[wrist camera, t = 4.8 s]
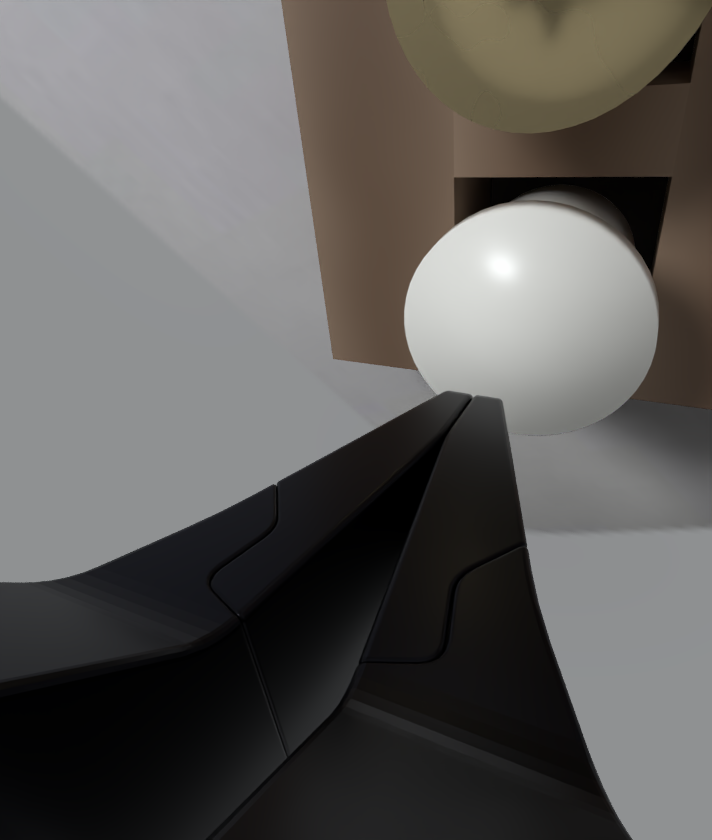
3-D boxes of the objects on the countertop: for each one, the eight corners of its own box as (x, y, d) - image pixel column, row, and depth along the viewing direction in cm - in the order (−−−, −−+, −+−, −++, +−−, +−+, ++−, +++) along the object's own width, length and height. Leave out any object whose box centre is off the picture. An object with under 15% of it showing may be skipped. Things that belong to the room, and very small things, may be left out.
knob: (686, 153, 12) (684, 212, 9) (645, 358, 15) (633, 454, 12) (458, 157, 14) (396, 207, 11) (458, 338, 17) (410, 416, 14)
